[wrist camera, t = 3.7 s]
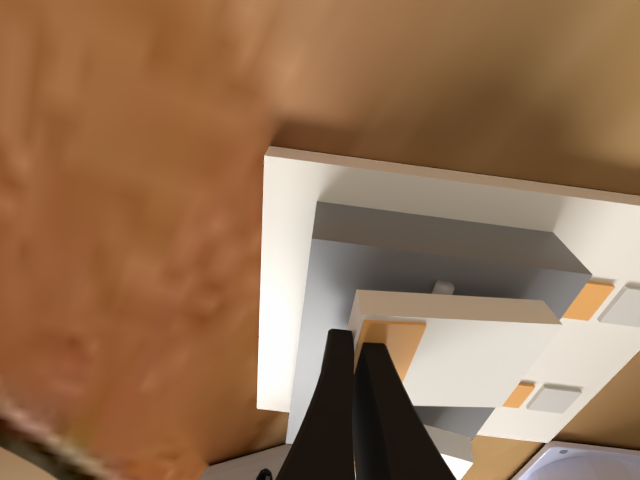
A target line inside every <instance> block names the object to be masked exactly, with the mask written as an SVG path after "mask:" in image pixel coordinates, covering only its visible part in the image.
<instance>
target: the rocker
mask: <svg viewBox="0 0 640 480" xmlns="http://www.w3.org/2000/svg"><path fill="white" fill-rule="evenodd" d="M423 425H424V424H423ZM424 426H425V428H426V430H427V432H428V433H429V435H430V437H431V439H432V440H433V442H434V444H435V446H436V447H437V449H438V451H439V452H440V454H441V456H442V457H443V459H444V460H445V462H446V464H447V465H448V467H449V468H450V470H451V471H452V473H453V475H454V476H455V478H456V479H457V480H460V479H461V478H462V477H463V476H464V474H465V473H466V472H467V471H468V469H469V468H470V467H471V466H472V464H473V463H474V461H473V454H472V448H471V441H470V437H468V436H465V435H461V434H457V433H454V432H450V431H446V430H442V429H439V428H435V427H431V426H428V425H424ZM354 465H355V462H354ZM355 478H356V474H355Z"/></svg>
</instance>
